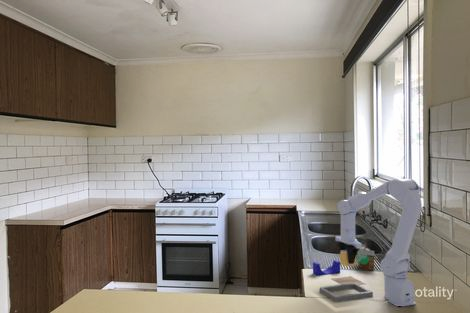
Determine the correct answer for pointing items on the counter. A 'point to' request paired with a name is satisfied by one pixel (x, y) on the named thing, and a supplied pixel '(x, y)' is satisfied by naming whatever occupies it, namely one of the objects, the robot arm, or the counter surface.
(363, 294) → the parts tray
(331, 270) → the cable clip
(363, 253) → the food container
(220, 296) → the counter surface
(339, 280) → the brown square tile
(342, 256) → the yellow and white block
